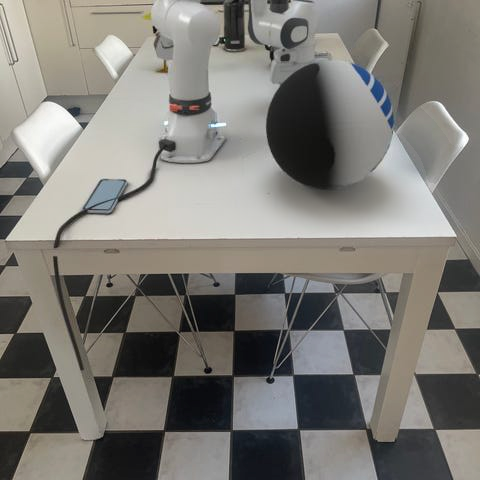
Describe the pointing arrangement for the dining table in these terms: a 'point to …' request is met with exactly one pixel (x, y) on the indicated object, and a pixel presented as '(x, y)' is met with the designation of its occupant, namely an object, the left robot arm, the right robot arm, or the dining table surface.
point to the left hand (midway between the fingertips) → (299, 94)
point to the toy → (162, 46)
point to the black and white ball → (329, 124)
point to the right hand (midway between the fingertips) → (277, 59)
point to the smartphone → (105, 195)
